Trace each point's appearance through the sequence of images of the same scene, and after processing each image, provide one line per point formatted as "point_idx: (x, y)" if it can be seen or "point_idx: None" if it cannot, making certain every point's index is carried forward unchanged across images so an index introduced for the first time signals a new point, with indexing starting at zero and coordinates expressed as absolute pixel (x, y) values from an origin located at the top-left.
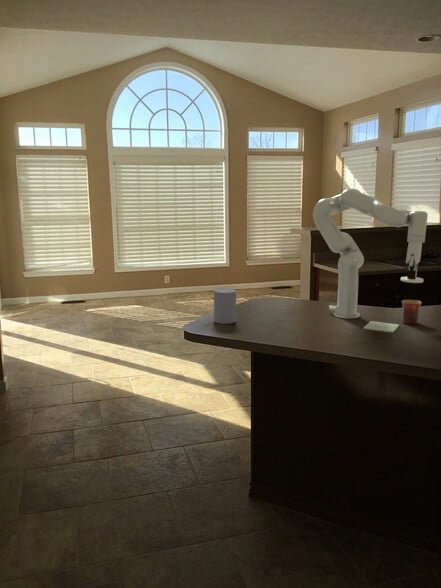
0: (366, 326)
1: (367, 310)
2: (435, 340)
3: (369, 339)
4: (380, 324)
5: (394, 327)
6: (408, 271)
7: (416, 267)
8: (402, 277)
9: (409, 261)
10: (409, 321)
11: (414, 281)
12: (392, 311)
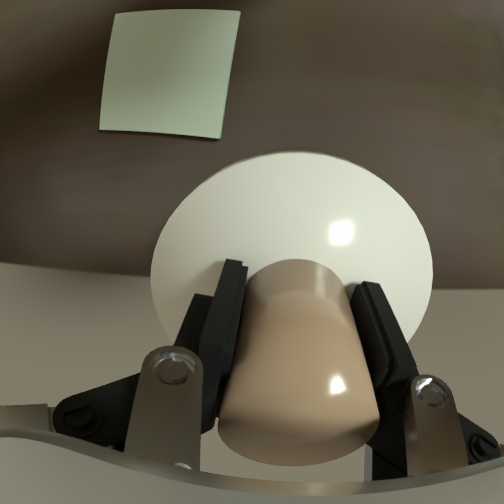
0: (133, 17)
1: (464, 17)
2: (84, 271)
3: (12, 81)
4: (187, 58)
5: (159, 123)
6: (206, 328)
7: (366, 457)
8: (331, 184)
9: None
10: None
11: (163, 319)
12: (484, 123)
